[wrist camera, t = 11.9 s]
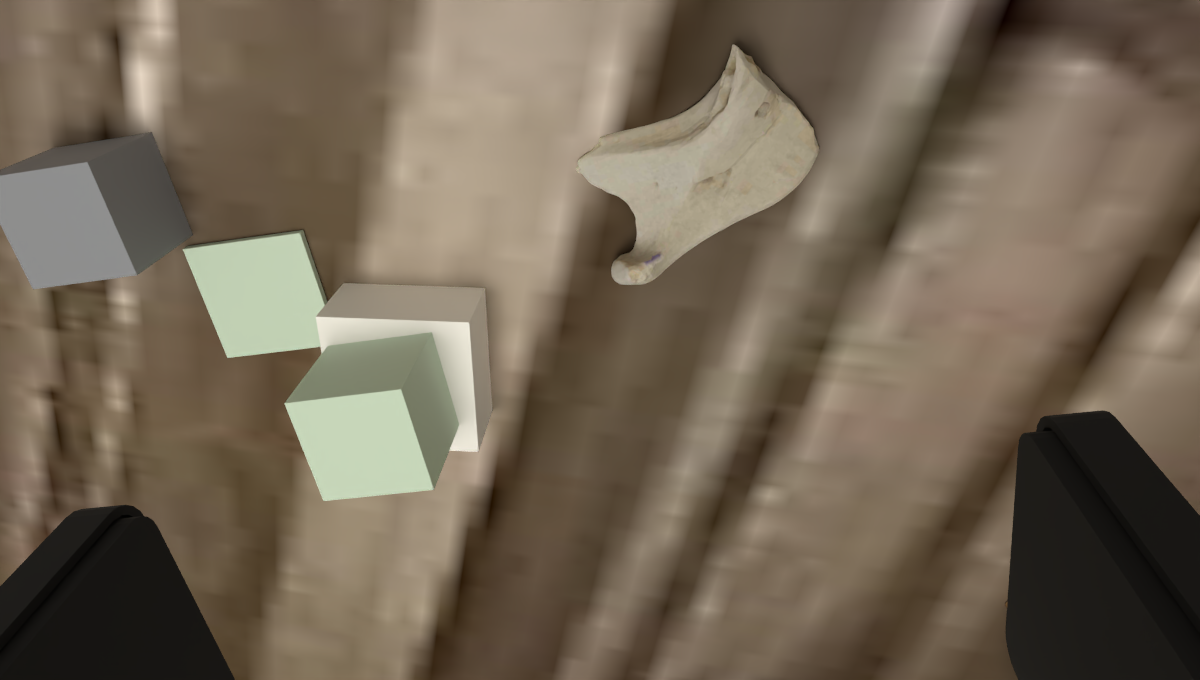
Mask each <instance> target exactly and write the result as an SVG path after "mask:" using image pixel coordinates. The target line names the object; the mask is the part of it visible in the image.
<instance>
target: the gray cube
mask: <svg viewBox="0 0 1200 680" xmlns="http://www.w3.org/2000/svg"><path fill="white" fill-rule="evenodd" d="M0 225H1V227H2V229H3V231H4V233H5V235H6V237H7V239H8V241H9V242H10V244H11V246H12V248H13V250H14V252H15V254H16V256H17V258H18V260H19V262H20V264H21V266H22V268H23V270H24V272H25V274H26V276H27V278H28V280H29V282H30V284H31V286H32V288H33V289H38V288H46V287H53V286H60V285H68V284H75V283H83V282H90V281H97V280H105V279H112V278H120V277H127V276H134V275H138V274H139V273H141V272H142V271H144V270H145V269H146V268H148V267H149V266H150V265H152V264H153V263H155V262H156V261H157V260H159V259H160V258H162V257H163V256H164V255H166V254H167V253H169V252H170V251H171V250H173V249H174V248H176V247H177V246H178V245H180V244H181V243H183V242H184V241H185V240H187V239H188V238H189V237H191V236H192V235H193V234H192V231H191V229H190V226H189V224H188V221H187V219H186V216H185V214H184V211H183V209H182V206H181V204H180V201H179V199H178V196H177V194H176V191H175V189H174V186H173V184H172V181H171V179H170V177H169V174H168V172H167V169H166V167H165V164H164V162H163V159H162V157H161V154H160V152H159V149H158V147H157V144H156V142H155V139H154V137H153V134H152V132H151V133H145V134H139V135H132V136H126V137H120V138H113V139H107V140H101V141H95V142H88V143H82V144H76V145H69V146H63V147H57V148H52V149H50V150H47V151H45V152H42V153H40V154H38V155H35V156H33V157H30V158H28V159H25V160H23V161H21V162H18V163H16V164H13V165H11V166H8V167H6V168H4V169H1V170H0Z"/></svg>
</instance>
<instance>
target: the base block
mask: <svg viewBox="0 0 1200 680" xmlns="http://www.w3.org/2000/svg"><path fill="white" fill-rule="evenodd" d="M316 322H317V328H318V334H319V340H320V346H321V352H322V353H323V352H324V350H325V349H326V348H327V346H330V345H338V344H346V343H353V342H361V341H369V340H376V339H384V338H392V337H399V336H407V335H415V334H422V333H430V332H432V335H433V338H434V341H435V345H436V348H437V351H438V355H439V358H440V362H441V365H442V368H443V372H444V375H445V378H446V382H447V385H448V388H449V392H450V395H451V398H452V402H453V405H454V409H455V412H456V415H457V419H458V422H459V427H458V430H457V432H456V435H455V437H454V440H453V442H452V445H451V447H450V451H471V452H479V449H480V446H481V443H482V440H483V437H484V434H485V431H486V428H487V425H488V422H489V419H490V416H491V413H492V394H491V378H490V361H489V344H488V328H487V311H486V294H485V288H473V287H444V286H416V285H387V284H358V283H343V284H342V285H341V287H340V288H339V289H338V290H337V291H336V293H335V294H334V295H333V296H332V297H331V299H330V300H329V301H328V302H327V304H326V305H325V306H324V307H323V308H322V310H321V311H320V312H319V313H318V314H317V316H316Z"/></svg>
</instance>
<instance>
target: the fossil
mask: <svg viewBox="0 0 1200 680" xmlns="http://www.w3.org/2000/svg"><path fill="white" fill-rule="evenodd" d="M818 152H819V146H818V143H817V141H816V138H815V136H814V129H813V128H812V127H811V125H810V124H809V122H808V121H807V120H806V118H805V117H804V116H803V115H802V113H801V112H800V111H799V109H798V108H797V106H796V105H795V104H794V102H793V101H792V100H790V99H789V98H788V97H787V96H786V95H785V94H784V93H782V91H781V90H780V89H779V88H778V87H777V86H776V85H775V83H774V82H773V81H772V80H771V79H770V78H769V77H768V76H766V75H765V74H763V73H762V71H761V69H760V68H759V67H758V66H757V65H755V63H754V61H753V59H752V57H751V56H748V55H746V54H744V53H743V52H742V50H740V49H739V48H738V47H737V46H736V45H732V50H731V54H730V57H729V60H728V63H727V66H726V69H725V70H724V72H723V74H722V76H721V78H720V79H719V80H718V82H717V83H716V84H715V86H714V87H713V88H712V89H711V90H710V91H709V92H708V94H707V95H706V96H705V97H704V98H703V99H702V100H701V101H699V102H698V103H697V104H696V105H694V106H693V107H692V108H690V109H688V110H687V111H685V112H683V113H681V114H679V115H677V116H675V117H672V118H670V119H666V120H662V121H660V122H657V123H653V124H650V125H646V126H644V127H638V128H635V129H629V130H625V131H621V132H616V133H613V134H609V135H606V136H603V137H600V140H599V144H598V145H596V146H595V147H594V148H593V150H592V151H591V152H589V153H587V154H585V155H584V156H583V157H581V158H580V159H579V161H578V167H577V168H576V170H577V173H581V174H582V175H583V176H584V177H585V178H586V179H587V180H588V181H589V183H590V184H592V185H594V186H596V187H598V188H601V189H603V190H604V191H606V192H607V193H610V194H613V195H616V196H618V197H620V198H621V199H623V200H624V201H625V202H626V203H627V204H628V205H629V206H630V208H631V210H632V211H633V213H634V215H635V217H636V228H637V237H636V242H635V245H634V248H633V250H632V251H631V252H630V253H626V254H622V255H620V256H619V257H618V258H617V259H616V260H615V261H614V262H613V265H612V268H611V273H612V277H613V279H614V280H615V281H616V282H617V283H619V284H624V285H634V284H646V283H648V282H650V281H652V280H654V279H655V278H657V277H658V276H659V275H660V274H661V273H662V272H663V271H664V270H665V269H666V268H668V267H669V266H670V265H671V264H672V263H673V262H675V261H676V260H677V259H678V258H679V257H681V256H682V255H683V254H685V253H686V252H687V251H689V250H690V249H692V248H693V247H695V246H696V245H698V244H699V243H701V242H702V241H704V240H705V239H707V238H709V237H710V236H712V235H714V234H716V233H717V232H719V231H721V230H723V229H725V228H727V227H728V226H730V225H732V224H734V223H736V222H738V221H740V220H742V219H744V218H746V217H748V216H751V215H753V214H755V213H757V212H759V211H762V210H764V209H766V208H768V207H770V206H772V205H773V204H775V203H777V202H779V201H780V200H781V199H783V198H784V197H785V196H787V195H788V194H789V193H790V192H792V191H793V190H794V189H795V188H796V187H797V186H798V185H799V184H800V183H801V182H802V180H803V179H804V178H805V177H806V176H807V174H808V172H809V171H810V169H811V167H812V166H813V164H814V161H815V159H816V157H817V155H818Z"/></svg>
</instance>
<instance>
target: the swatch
mask: <svg viewBox="0 0 1200 680" xmlns="http://www.w3.org/2000/svg"><path fill="white" fill-rule="evenodd" d="M183 251H184V253H185V256H186V258H187V261H188V263H189V266H190V268H191V270H192V273H193V275H194V278H195V280H196V282H197V285H198V287H199V290H200V292H201V295H202V297H203V299H204V302H205V304H206V307H207V309H208V312H209V314H210V316H211V319H212V321H213V324H214V326H215V329H216V331H217V333H218V336H219V338H220V341H221V343H222V346H223V348H224V350H225V353H226V355H227V358H231V357H239V356H247V355H256V354H264V353H272V352H281V351H289V350H297V349H306V348H314V347H321V346H320V340H319V334H318V328H317V322H316V316H317V314H318V313H319V312H320V311H321V310H322V308H323V307H324V306H325V305H326V304H327V299H326V296H325V293H324V290H323V287H322V284H321V281H320V278H319V275H318V272H317V270H316V267H315V264H314V261H313V258H312V255H311V252H310V249H309V246H308V243H307V240H306V237H305V234H304V231H303V230H299V231H292V232H285V233H278V234H271V235H264V236H257V237H249V238H242V239H235V240H228V241H221V242H214V243H207V244H199V245H192V246H187V247H185V248H184V249H183Z"/></svg>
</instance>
